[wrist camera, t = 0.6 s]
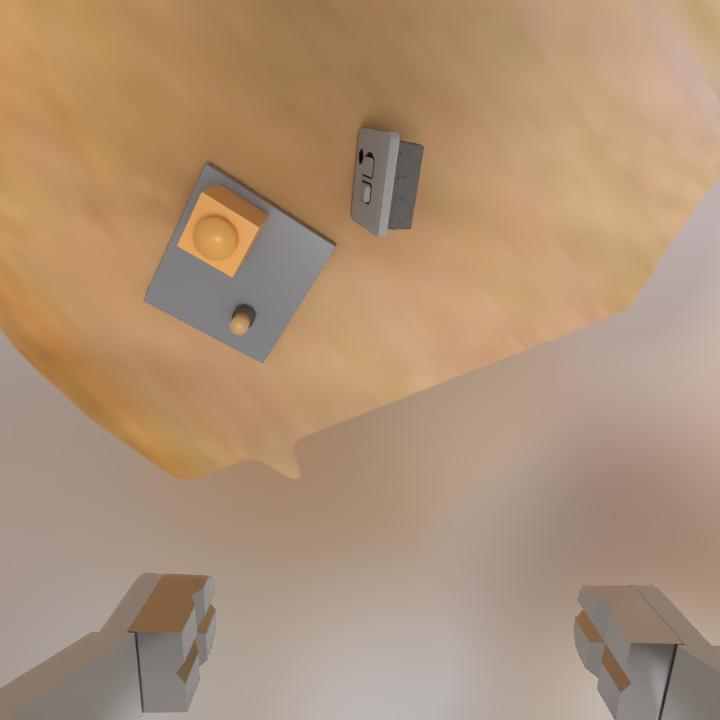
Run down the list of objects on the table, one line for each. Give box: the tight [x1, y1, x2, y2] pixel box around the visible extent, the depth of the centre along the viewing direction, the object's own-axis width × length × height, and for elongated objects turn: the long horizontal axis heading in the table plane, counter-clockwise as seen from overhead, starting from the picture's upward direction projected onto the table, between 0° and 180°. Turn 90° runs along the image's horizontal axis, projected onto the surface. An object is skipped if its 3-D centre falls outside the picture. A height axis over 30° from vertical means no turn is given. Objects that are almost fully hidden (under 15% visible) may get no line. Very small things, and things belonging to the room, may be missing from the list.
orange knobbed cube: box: [177, 184, 270, 278], centre depth 46 cm, size 6×6×8 cm
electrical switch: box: [351, 128, 424, 237], centre depth 45 cm, size 9×5×9 cm, turn 173°
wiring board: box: [144, 163, 336, 363], centre depth 51 cm, size 18×16×6 cm
